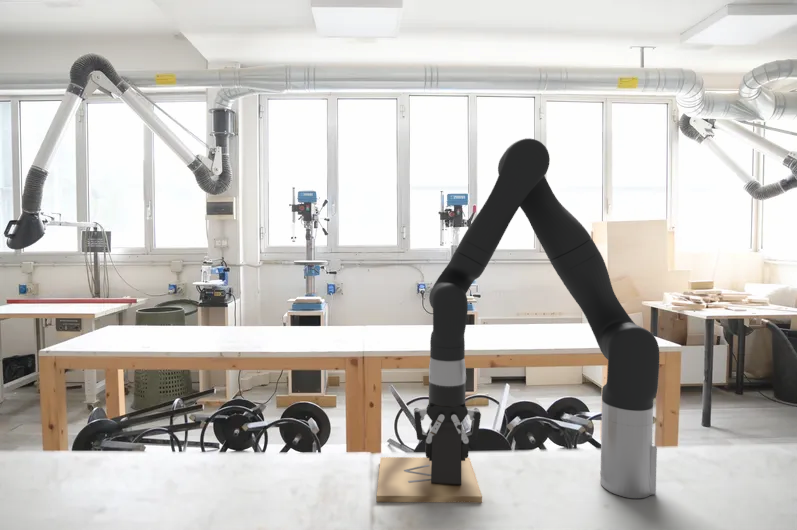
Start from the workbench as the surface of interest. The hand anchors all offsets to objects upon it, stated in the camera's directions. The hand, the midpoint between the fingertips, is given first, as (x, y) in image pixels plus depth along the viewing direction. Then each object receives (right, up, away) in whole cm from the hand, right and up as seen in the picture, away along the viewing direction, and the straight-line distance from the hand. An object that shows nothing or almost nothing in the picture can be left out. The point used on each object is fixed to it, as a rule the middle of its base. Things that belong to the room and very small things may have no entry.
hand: (446, 458), depth 95 cm
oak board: (-4, -5, 0) cm, 6 cm away
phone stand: (0, -3, 0) cm, 3 cm away
